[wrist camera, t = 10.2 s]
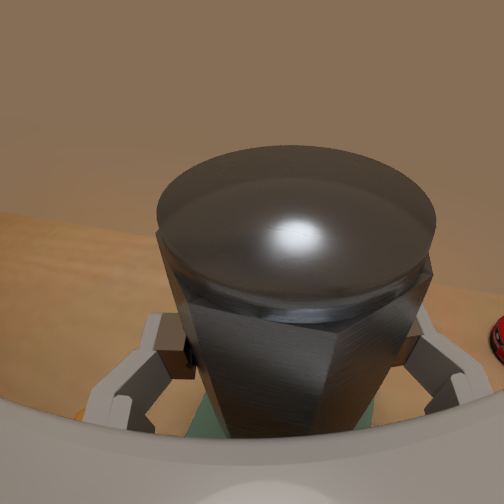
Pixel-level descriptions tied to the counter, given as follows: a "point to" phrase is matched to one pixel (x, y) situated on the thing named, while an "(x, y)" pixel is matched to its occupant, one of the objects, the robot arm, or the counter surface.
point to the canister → (294, 282)
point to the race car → (498, 338)
